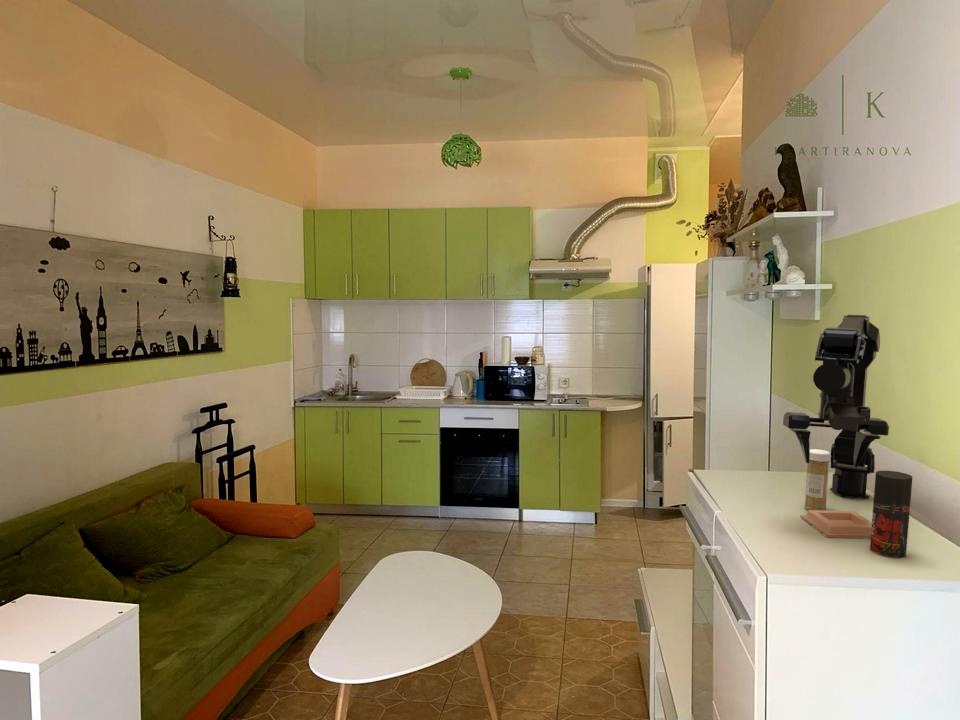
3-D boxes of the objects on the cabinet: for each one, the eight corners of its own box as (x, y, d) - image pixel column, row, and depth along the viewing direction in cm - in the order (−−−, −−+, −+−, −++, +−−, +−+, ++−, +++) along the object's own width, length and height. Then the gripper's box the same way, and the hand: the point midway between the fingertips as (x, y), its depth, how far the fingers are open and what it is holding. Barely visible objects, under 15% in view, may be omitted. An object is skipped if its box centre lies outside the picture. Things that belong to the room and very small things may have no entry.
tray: (855, 518, 149) (856, 509, 149) (887, 538, 137) (888, 529, 137) (800, 517, 149) (800, 508, 149) (827, 537, 137) (828, 528, 137)
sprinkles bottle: (830, 510, 155) (834, 451, 153) (818, 513, 152) (823, 454, 151) (811, 504, 158) (814, 447, 157) (799, 508, 156) (803, 450, 154)
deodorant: (862, 546, 133) (868, 470, 131) (892, 545, 134) (898, 470, 132) (883, 558, 127) (889, 479, 126) (913, 557, 128) (920, 479, 126)
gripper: (797, 390, 135) (791, 468, 136) (902, 397, 131) (895, 477, 132) (785, 385, 146) (779, 458, 147) (881, 391, 142) (875, 465, 143)
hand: (831, 464), depth 142 cm, fingers open, 9 cm apart
